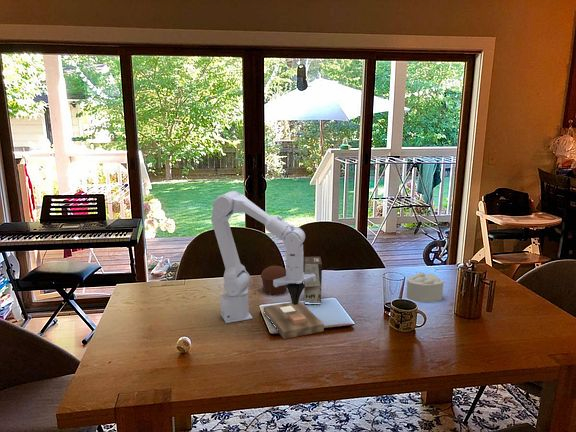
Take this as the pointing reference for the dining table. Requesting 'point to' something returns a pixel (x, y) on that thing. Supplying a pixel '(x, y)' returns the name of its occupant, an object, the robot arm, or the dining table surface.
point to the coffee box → (313, 287)
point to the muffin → (270, 275)
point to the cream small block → (287, 309)
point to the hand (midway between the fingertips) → (294, 303)
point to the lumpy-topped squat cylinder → (424, 288)
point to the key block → (287, 327)
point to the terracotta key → (297, 318)
